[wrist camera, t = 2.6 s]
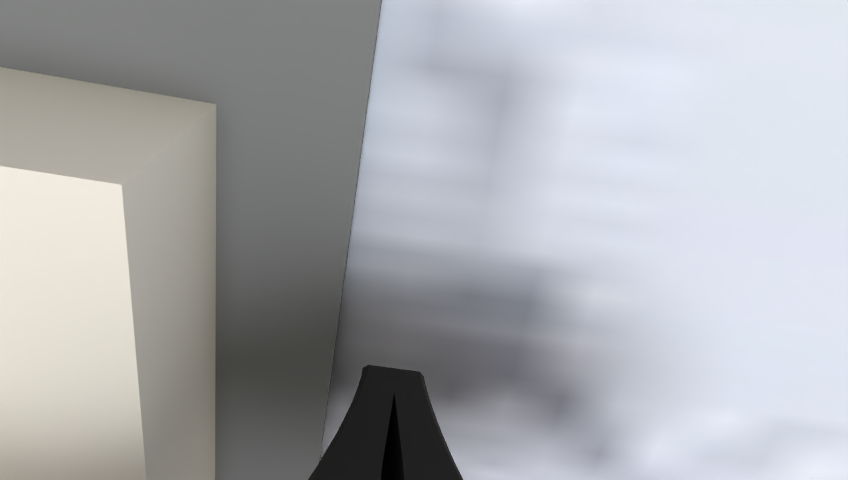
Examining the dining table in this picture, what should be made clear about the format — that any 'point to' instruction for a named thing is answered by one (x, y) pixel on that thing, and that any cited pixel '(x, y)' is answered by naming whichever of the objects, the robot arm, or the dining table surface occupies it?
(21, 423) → the t block
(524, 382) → the dining table surface
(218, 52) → the mat
